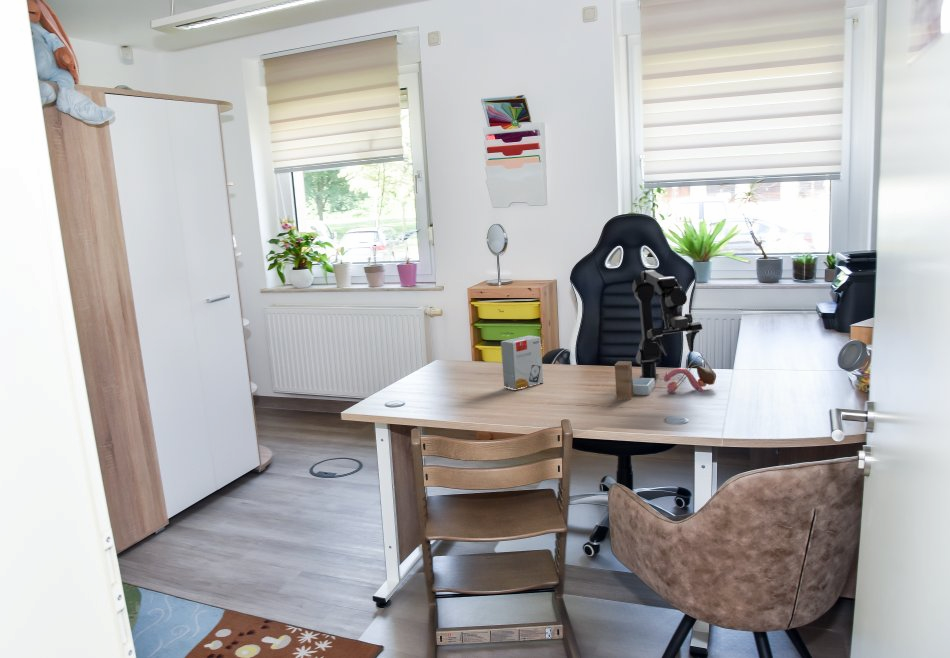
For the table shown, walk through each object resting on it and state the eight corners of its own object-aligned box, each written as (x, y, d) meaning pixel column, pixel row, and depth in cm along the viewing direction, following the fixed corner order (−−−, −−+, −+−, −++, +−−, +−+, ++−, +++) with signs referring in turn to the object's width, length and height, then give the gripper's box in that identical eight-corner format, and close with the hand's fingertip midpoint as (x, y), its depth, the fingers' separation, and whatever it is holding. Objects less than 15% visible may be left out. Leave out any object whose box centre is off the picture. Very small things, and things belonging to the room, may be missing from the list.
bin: (627, 386, 269) (626, 377, 268) (654, 387, 264) (654, 378, 264) (620, 393, 260) (619, 384, 259) (648, 394, 255) (648, 385, 254)
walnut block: (620, 395, 258) (618, 361, 256) (633, 395, 256) (631, 361, 254) (616, 398, 254) (614, 364, 252) (630, 399, 251) (628, 364, 249)
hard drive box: (515, 391, 277) (511, 343, 273) (503, 388, 283) (499, 341, 280) (544, 383, 286) (540, 336, 282) (532, 380, 292) (528, 334, 288)
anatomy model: (656, 378, 263) (685, 344, 259) (688, 402, 263) (718, 369, 259) (659, 386, 252) (689, 351, 248) (692, 411, 252) (723, 377, 248)
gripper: (653, 310, 239) (662, 354, 237) (704, 303, 241) (713, 347, 239) (642, 316, 250) (650, 358, 248) (691, 309, 252) (700, 351, 250)
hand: (678, 354), depth 246 cm, fingers open, 9 cm apart
